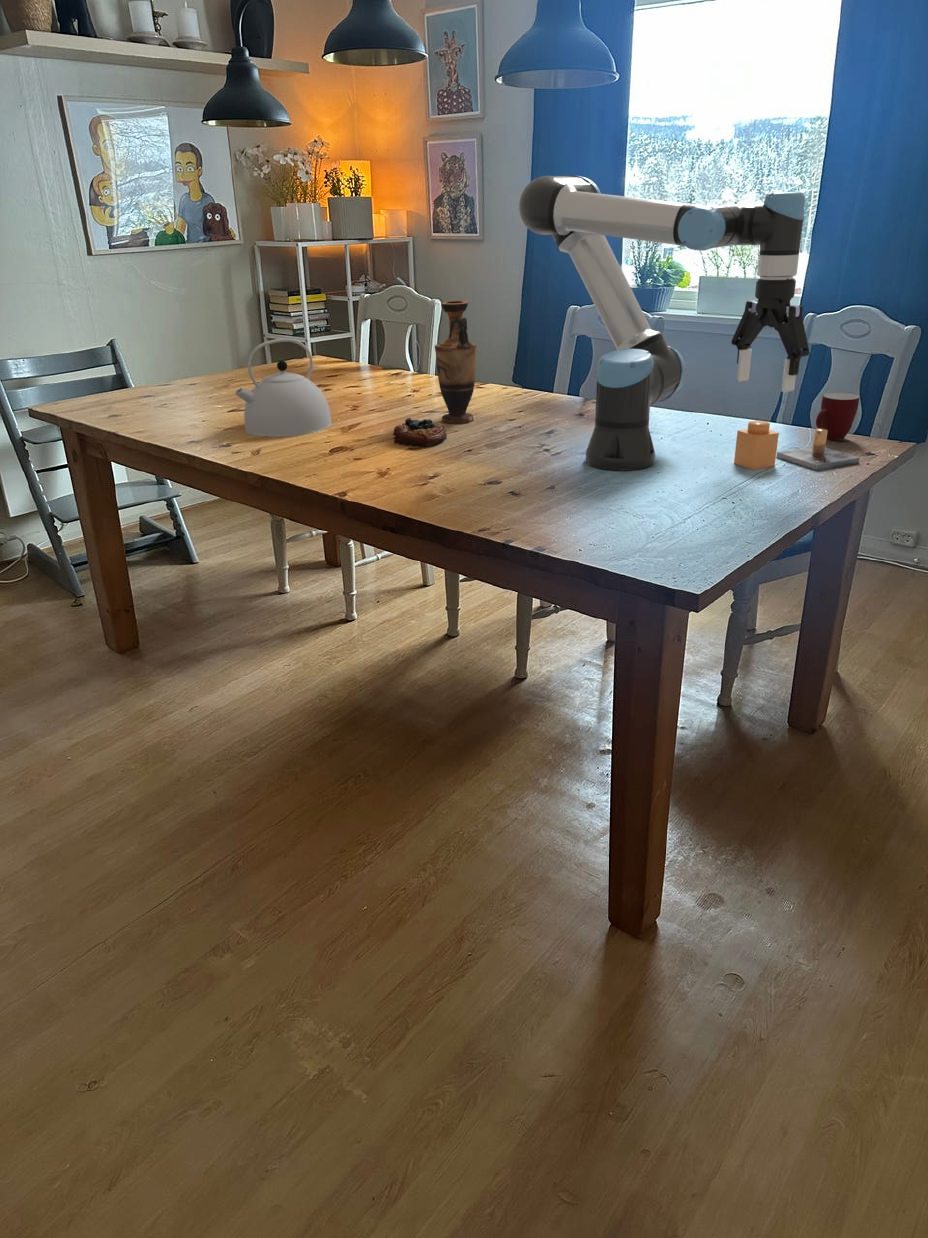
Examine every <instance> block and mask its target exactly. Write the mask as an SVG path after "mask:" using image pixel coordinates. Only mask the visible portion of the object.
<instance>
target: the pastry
mask: <svg viewBox="0 0 928 1238" xmlns="http://www.w3.org/2000/svg"><path fill="white" fill-rule="evenodd" d="M404 421H405V422H403V423H402V424H401V423H400V424H398V425H396V426H395V427H394V428H393V433H392V434H393V439H394V440H393V442H394V444H396V443H399V444H398V445H401V444H405V445H404V446H408V445H412V446H411V447H413V446H418V447H417V448H425V447H426V448H427V447H428V448H431V447H432V448H433V447H435V446H438V445H440V444H442V443H444V442H445V440H447V436H448V434H447V428H446V426H445V425H444V424H443V423H440V422H439V423H436V422H435V423H434V422H433V420H432V419H428V418H425V419H422V420H419V419H412V418H411V417H408V418H406V419H405V420H404ZM428 448H427V449H428Z"/></svg>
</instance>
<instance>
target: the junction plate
mask: <svg viewBox="0 0 928 1238" xmlns="http://www.w3.org/2000/svg"><path fill="white" fill-rule="evenodd" d="M827 432H828V430H827V429H818V428H816V429H815V431H814V436H813V445H812V446H805V447H801V448H794V449H787V450H781V451H776V459H777V458H778V459H780V460H783V461H786V462H789V463H791V464H792V463H793V464H795V465H799V466H801V467H804V468H807V469H810V470H813V471H817V472H818V471H821V470H827V469H828V470H829V469H833V468H837V467H838V468H839V467H844V466H845V467H846V466H849V465H850V466H851V465H856V464H860V457H858V456H855V455H852V454H849V453H845V452H842V451H839V450H836V449H832V448H828V447H826V443H827V439H826V438H827Z"/></svg>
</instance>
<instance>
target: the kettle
mask: <svg viewBox="0 0 928 1238" xmlns="http://www.w3.org/2000/svg"><path fill="white" fill-rule="evenodd" d="M283 342H284V343H285V342H288V343H289V342H290V343H294V344H297V345H298V346H300V347H301V348H302V349H304V350H305V352H306V353H307V355H308V359H309V369H308V372H307V374H306V376H304V375H302V374H299V373H295V372H289V371H286V370H287V369H288V363H287V362H286V361H285V360H279V361H277V364H276V367H277V369H278V371H280V372H276V373H273V374H270V375H267V376H265V377H264V378H262V380H260V381H259V382H257V380H256V379H255V376H254V375H253V371H252V359H253V357H254V355H255V353H257V351H258V350H260V349H262V348H264V347H265V346H268V345H273V344H276V343H283ZM313 368H314V361H313V357H312V354H311V351H310V349H309V348H308V347H307V346H306V345H305V344H304V343H303V342H301V341H299V340H297V339H294V338H276V339H271V340H268V341H265V342H263V343H260V344H257V346H256V347H254V348H253V349H252V351H251V352H250V354H249V356H248V359H247V370H248V376H249V377H250V379H251V381H252V383H253V384H254V387H253V388H252V390H249V389H245V388H243V387H241V388H237V390H236V391H235V392H234V394H235V396H238V398H240V399H241V400H243V401H245V406H244V410H243V414H244V415H243V416H244V430H245V432H246V433H247V434H249V433H250V435H252V434H253V435H254V436H256V437H257V436H259V437H265V436H268V437H267V438H281V437H280V436H289V437H298V435H300V436H306V435H305V434H307V435H311V434H310V433H312V434H315V433H314V432H316V433H319V432H318V431H320V432H322V431H321V430H323V431H325V430H326V429H325V428H327V427H329V426H330V425H331V423H332V417H331V409H330V406H329V403H328V401H327V398H326V397H325V394H324V393H323V391H322V390H321V389H320V388H319V387H318V386H317V385H316V384H315V383H314V382H312V380H310V376H311V375H312V372H313ZM331 426H332V425H331ZM331 426H330V427H331ZM330 427H329V428H330ZM324 429H325V430H324ZM253 435H252V436H253Z"/></svg>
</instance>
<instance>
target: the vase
mask: <svg viewBox="0 0 928 1238" xmlns="http://www.w3.org/2000/svg"><path fill="white" fill-rule="evenodd" d="M440 305H441V307H442V309H443V312H445V313H446V315H447V316H448V320H449V321H448V323H449V332H448V333H449V334H448V337H447V339H446V340H444V341H443V342H440V343H437V344H434V351H435V361H436V369H437V378H438V379H437V380H438V386H439V390H440V393H441V395H442V398H443V401H444V404H445V405H446V408H447V410H448V413H446V414H444V415H442V417H441V421H442V422H443V423H446V424H468V423H470V422H472V421H474V419H475V418H474V415H473V414H472V413H468V412H467V410H468V407H469V404H470V402H471V400H472V396H473V394H474V389H475V384H476V383H475V382H476V372H477V371H476V367H477V366H476V365H477V349H478V348H477V346H478V345H477V343H475V342H470V341H469V336H468V335H469V334H468V321H467V317H465V316H463V315H464V312H466V310H467V308H468V306H469V301H468V300H467V301H466V300H449V301H443V302H441V303H440Z"/></svg>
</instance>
